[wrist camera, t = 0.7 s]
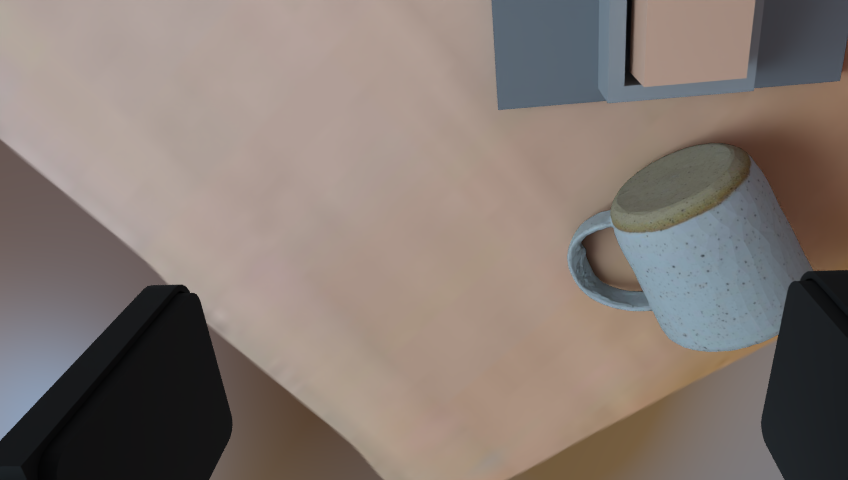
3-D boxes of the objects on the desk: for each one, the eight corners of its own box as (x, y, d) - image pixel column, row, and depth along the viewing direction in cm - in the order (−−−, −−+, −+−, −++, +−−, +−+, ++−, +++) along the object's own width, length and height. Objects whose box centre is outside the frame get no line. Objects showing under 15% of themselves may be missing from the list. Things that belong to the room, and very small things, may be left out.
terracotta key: (632, -24, 27) (648, -17, 24) (731, -34, 26) (758, -29, 24) (629, 71, 29) (643, 87, 26) (722, 62, 28) (746, 78, 26)
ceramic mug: (721, 114, 32) (780, 168, 25) (781, 237, 35) (849, 315, 28) (537, 213, 36) (545, 284, 29) (605, 317, 38) (627, 405, 32)
